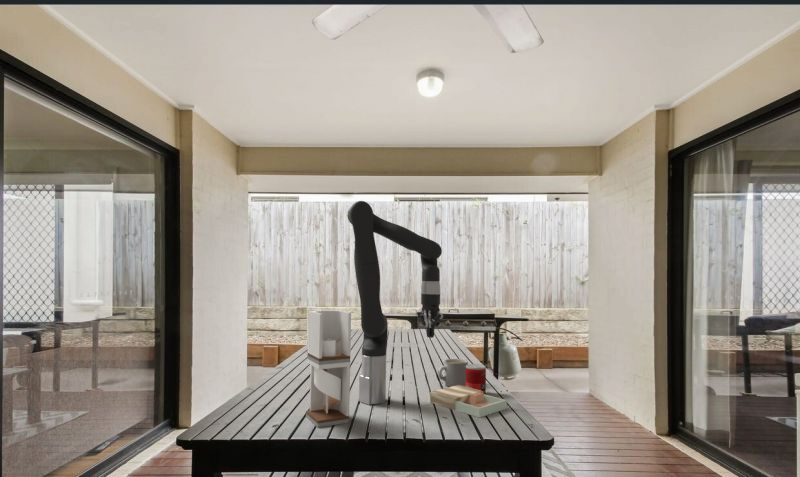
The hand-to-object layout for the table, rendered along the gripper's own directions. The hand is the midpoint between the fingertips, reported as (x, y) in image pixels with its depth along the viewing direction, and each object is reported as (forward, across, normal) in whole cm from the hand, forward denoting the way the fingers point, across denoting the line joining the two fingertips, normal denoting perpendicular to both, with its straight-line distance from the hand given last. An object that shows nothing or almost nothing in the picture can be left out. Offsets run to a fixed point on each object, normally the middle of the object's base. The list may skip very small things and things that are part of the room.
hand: (430, 337), depth 181 cm
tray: (+23, +22, +3) cm, 32 cm away
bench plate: (+23, +11, +3) cm, 26 cm away
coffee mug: (+23, -8, +22) cm, 33 cm away
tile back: (+21, +19, +3) cm, 28 cm away
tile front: (+21, +24, +3) cm, 32 cm away
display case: (+23, -3, -45) cm, 51 cm away
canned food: (+23, +8, +18) cm, 30 cm away
